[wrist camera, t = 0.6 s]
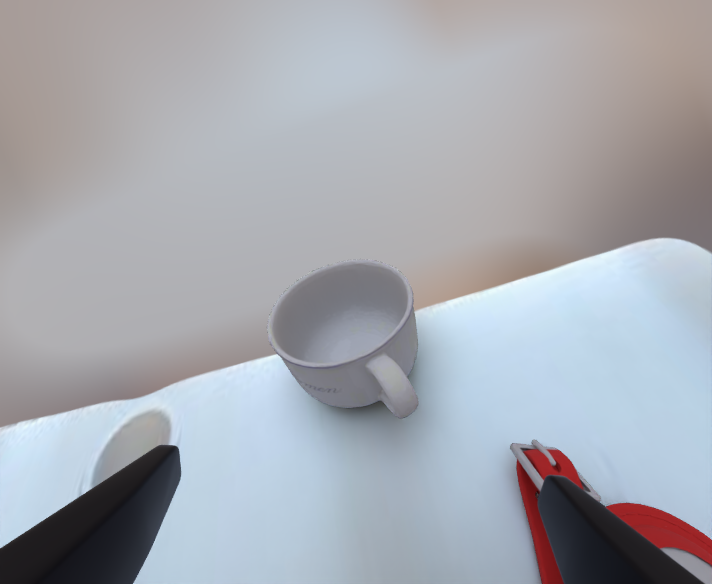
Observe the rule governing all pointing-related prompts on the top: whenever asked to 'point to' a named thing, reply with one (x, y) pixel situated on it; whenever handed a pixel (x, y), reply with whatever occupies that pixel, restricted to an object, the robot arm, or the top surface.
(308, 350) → the teacup
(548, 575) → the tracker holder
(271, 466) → the top surface
